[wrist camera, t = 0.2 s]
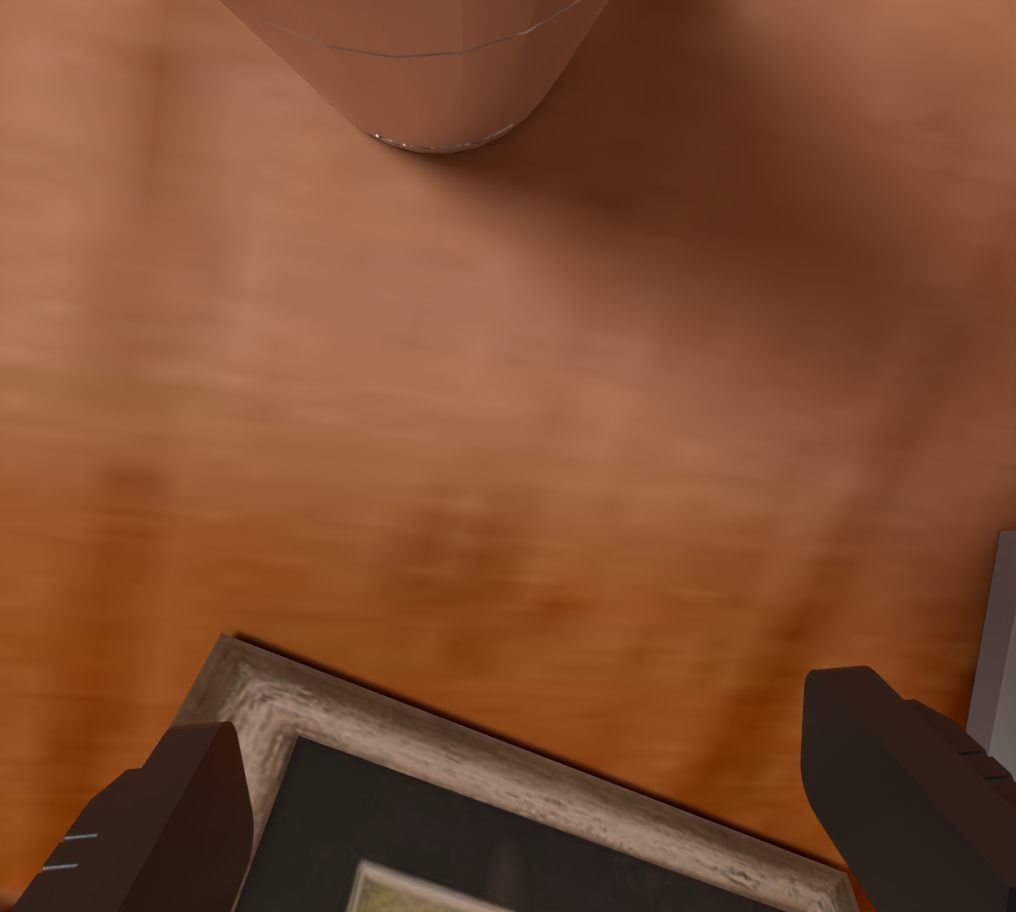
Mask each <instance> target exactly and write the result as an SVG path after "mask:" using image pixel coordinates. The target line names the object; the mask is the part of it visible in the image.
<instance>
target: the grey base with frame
mask: <svg viewBox="0 0 1016 912" xmlns="http://www.w3.org/2000/svg"><path fill="white" fill-rule="evenodd" d="M966 732H967V733H968V734H969V735H970V736H971V737H972V738H973V739H974V740H975V741H976V742H977V743H979V744H980V745H981V746H982V747H983V748H984V749H985V750H986V754H987V756H988V757H990V756H993V757H994V758H995V759H996V760H997V761H998V762H999V763H1000V764H1001V765H1002V766H1003V767H1004V768H1006V769H1007V770H1008V771H1009V772H1010V773H1011V774H1012V776H1013V779H1014V781H1015V782H1016V530H1008V531H1000V535H999V541H998V547H997V553H996V558H995V564H994V570H993V576H992V582H991V587H990V593H989V599H988V605H987V610H986V616H985V622H984V628H983V634H982V639H981V645H980V651H979V657H978V663H977V668H976V674H975V680H974V686H973V692H972V697H971V703H970V709H969V715H968V721H967V726H966Z"/></svg>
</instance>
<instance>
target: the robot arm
mask: <svg viewBox="0 0 1016 912" xmlns="http://www.w3.org/2000/svg"><path fill="white" fill-rule="evenodd" d="M220 1H221V2H222V3H223V4H224V5H225V6H226V7H227V8H228V9H229V10H231V11H232V12H233V13H234V14H235V15H236V16H237V17H238V18H239V19H240V20H241V21H242V22H243V23H244V24H246V25H247V26H248V27H249V28H250V29H251V30H252V31H253V32H254V33H255V34H256V35H257V36H258V37H259V38H261V39H262V40H263V41H264V42H265V43H266V44H267V45H268V46H269V47H270V48H271V49H272V50H273V51H274V52H276V53H277V54H278V55H279V56H280V57H281V58H282V59H283V60H284V61H285V62H286V63H287V64H288V65H289V66H291V67H292V68H293V69H294V70H295V71H296V72H297V73H298V74H299V75H300V76H301V77H302V78H303V79H304V80H306V81H307V82H308V83H309V84H310V85H311V86H312V87H313V88H314V89H315V90H316V91H317V92H318V93H319V94H320V95H321V96H322V97H324V98H325V99H326V100H327V101H328V102H329V103H330V104H331V105H332V106H333V107H334V108H335V109H337V110H338V111H339V112H340V113H341V114H343V115H344V116H345V117H346V118H347V119H349V120H350V121H351V122H352V123H354V124H355V125H356V126H357V127H359V128H360V129H361V130H362V131H364V132H366V133H368V134H370V135H372V136H374V137H375V138H377V139H379V140H381V141H383V142H385V143H387V144H389V145H392V146H396V147H399V148H403V149H407V150H410V151H414V152H418V153H440V154H449V153H454V152H459V151H464V150H470V149H475V148H478V147H480V146H482V145H484V144H486V143H489V142H491V141H493V140H495V139H498V138H500V137H502V136H504V135H505V134H506V133H508V132H509V131H510V130H512V129H513V128H514V127H516V126H517V125H518V124H520V123H521V122H522V121H524V120H525V119H526V118H527V117H528V116H529V115H530V113H531V112H532V111H533V110H534V109H535V108H536V107H537V105H538V104H539V103H540V102H541V101H542V100H543V98H544V97H545V96H546V95H547V93H548V92H549V90H550V89H551V87H552V86H553V84H554V83H555V81H556V80H557V78H558V77H559V75H560V74H561V73H562V71H563V70H564V68H565V67H566V65H567V64H568V62H569V61H570V59H571V58H572V56H573V55H574V53H575V52H576V50H577V49H578V47H579V46H580V44H581V43H582V41H583V39H584V38H585V36H586V35H587V33H588V32H589V30H590V29H591V27H592V26H593V24H594V23H595V21H596V20H597V18H598V17H599V15H600V14H601V12H602V10H603V9H604V7H605V6H606V4H607V3H608V1H609V0H220ZM801 775H802V781H803V785H804V789H805V792H806V795H807V798H808V801H809V803H810V805H811V808H812V810H813V811H814V813H815V815H816V816H817V818H818V820H819V821H820V823H821V824H822V826H823V827H824V829H825V831H826V832H827V834H828V835H829V837H830V838H831V840H832V842H833V843H834V845H835V846H836V848H837V849H838V851H839V853H840V854H841V856H842V857H843V859H844V860H845V862H846V864H847V865H848V867H849V868H850V870H851V871H852V873H853V875H854V876H855V878H856V879H857V881H858V882H859V884H860V886H861V887H862V889H863V890H864V892H865V893H866V895H867V897H868V898H869V900H870V901H871V903H872V904H873V906H874V908H875V909H876V911H877V912H1016V782H1015V781H1014V779H1013V776H1012V774H1011V773H1010V772H1009V771H1008V770H1007V769H1006V768H1004V767H1003V766H1002V765H1001V764H1000V763H999V762H998V761H997V760H996V759H995V758H994V757H993V756H990V757H988V756H987V754H986V750H985V749H984V748H983V747H982V746H981V745H980V744H979V743H977V742H976V741H975V740H974V739H973V738H972V737H971V736H970V735H969V734H968V733H967V732H966V731H964V730H963V729H962V728H961V727H960V726H959V725H958V724H957V723H956V722H955V721H953V720H951V719H949V718H947V717H946V716H944V715H942V714H940V713H938V712H937V711H935V710H933V709H931V708H929V707H928V706H926V705H924V704H922V703H920V702H919V701H917V700H915V699H911V700H904V699H902V698H901V697H900V696H899V695H898V694H897V693H896V692H895V691H894V690H893V689H892V688H891V687H890V686H889V685H888V684H887V683H886V682H885V681H884V680H883V679H882V678H881V677H880V676H879V675H878V674H877V673H876V672H875V671H874V670H873V669H871V668H870V667H868V666H864V665H863V666H852V667H841V668H830V669H819V670H811V671H810V672H809V673H808V674H807V677H806V680H805V686H804V704H803V724H802V743H801ZM253 836H254V819H253V811H252V805H251V800H250V795H249V790H248V785H247V780H246V775H245V770H244V765H243V760H242V755H241V749H240V744H239V739H238V735H237V731H236V728H235V726H234V725H233V724H232V722H230V721H222V722H211V723H200V724H189V725H178V726H172V727H170V728H169V729H168V730H167V731H166V733H165V734H164V735H163V737H162V738H161V740H160V741H159V743H158V744H157V746H156V747H155V749H154V750H153V752H152V753H151V755H150V756H149V758H148V759H147V761H146V762H145V764H144V765H143V767H142V768H139V769H128V770H126V771H125V772H124V773H123V774H121V775H120V776H119V777H118V778H117V779H115V780H114V781H113V782H112V783H111V784H109V785H108V786H107V787H106V788H105V789H103V790H102V791H101V792H100V793H98V794H97V795H96V796H95V797H94V798H92V799H91V800H90V801H89V803H88V804H87V806H86V807H85V808H84V810H83V811H82V812H81V814H80V815H79V817H78V818H77V819H76V821H75V822H74V824H73V825H72V826H71V828H70V829H69V831H68V832H67V833H66V835H65V841H64V842H60V843H59V844H58V846H57V847H56V849H55V850H54V851H53V853H52V854H51V855H50V857H49V858H48V860H47V861H46V862H45V864H44V865H43V872H42V873H37V875H36V876H35V878H34V879H33V880H32V882H31V883H30V885H29V886H28V887H27V889H26V890H25V891H24V893H23V894H22V896H21V897H20V898H19V900H18V901H17V903H16V904H15V905H14V907H13V908H12V909H11V911H10V912H231V910H232V907H233V905H234V902H235V899H236V897H237V894H238V891H239V889H240V886H241V883H242V881H243V878H244V875H245V873H246V870H247V867H248V864H249V861H250V857H251V852H252V846H253Z"/></svg>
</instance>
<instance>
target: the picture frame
mask: <svg viewBox="0 0 1016 912" xmlns="http://www.w3.org/2000/svg"><path fill="white" fill-rule="evenodd" d="M222 721H230V722H232V724H233V725H234V726H235V728H236V731H237V735H238V739H239V744H240V749H241V755H242V760H243V765H244V770H245V775H246V780H247V785H248V790H249V795H250V800H251V805H252V811H253V819H254V836H253V846H252V852H251V857H250V861H249V864H248V867H247V870H246V873H245V875H244V878H243V881H242V883H241V886H240V889H239V891H238V894H237V897H236V899H235V902H234V905H233V907H232V910H231V912H860V910H859V907H858V904H857V901H856V898H855V895H854V892H853V889H852V886H851V883H850V880H849V877H848V874H847V873H844V872H841V871H839V870H836V869H834V868H831V867H828V866H826V865H823V864H821V863H818V862H815V861H813V860H810V859H808V858H805V857H802V856H800V855H797V854H795V853H792V852H789V851H787V850H784V849H782V848H779V847H776V846H774V845H771V844H769V843H766V842H763V841H761V840H758V839H756V838H753V837H750V836H748V835H745V834H743V833H740V832H737V831H735V830H732V829H730V828H727V827H724V826H722V825H719V824H717V823H714V822H711V821H709V820H706V819H704V818H701V817H698V816H696V815H693V814H691V813H688V812H685V811H683V810H680V809H678V808H675V807H672V806H670V805H667V804H665V803H662V802H659V801H657V800H654V799H652V798H649V797H646V796H644V795H641V794H639V793H636V792H633V791H631V790H628V789H625V788H623V787H620V786H618V785H615V784H612V783H610V782H607V781H605V780H602V779H599V778H597V777H594V776H592V775H589V774H586V773H584V772H581V771H579V770H576V769H573V768H571V767H568V766H566V765H563V764H560V763H558V762H555V761H553V760H550V759H547V758H545V757H542V756H540V755H537V754H534V753H532V752H529V751H527V750H524V749H521V748H519V747H516V746H514V745H511V744H508V743H506V742H503V741H501V740H498V739H495V738H493V737H490V736H488V735H485V734H482V733H480V732H477V731H475V730H472V729H469V728H467V727H464V726H462V725H459V724H456V723H454V722H451V721H449V720H446V719H443V718H441V717H438V716H436V715H433V714H430V713H428V712H425V711H423V710H420V709H417V708H415V707H412V706H410V705H407V704H404V703H402V702H399V701H397V700H394V699H391V698H389V697H386V696H384V695H381V694H378V693H376V692H373V691H371V690H368V689H365V688H363V687H360V686H357V685H355V684H352V683H350V682H347V681H344V680H342V679H339V678H337V677H334V676H331V675H329V674H326V673H324V672H321V671H318V670H316V669H313V668H311V667H308V666H305V665H303V664H300V663H298V662H295V661H292V660H290V659H287V658H285V657H282V656H279V655H277V654H274V653H272V652H269V651H266V650H264V649H261V648H259V647H256V646H253V645H251V644H248V643H246V642H243V641H240V640H238V639H235V638H233V637H230V636H227V635H225V634H222V633H221V635H220V637H219V639H218V640H217V642H216V644H215V646H214V648H213V649H212V651H211V653H210V655H209V657H208V658H207V660H206V662H205V664H204V666H203V668H202V669H201V671H200V673H199V675H198V677H197V678H196V680H195V682H194V684H193V686H192V687H191V689H190V691H189V693H188V695H187V696H186V698H185V700H184V702H183V704H182V706H181V707H180V709H179V711H178V713H177V715H176V716H175V718H174V720H173V722H172V724H171V725H170V727H172V726H178V725H189V724H200V723H211V722H222ZM170 727H169V728H170Z"/></svg>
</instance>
